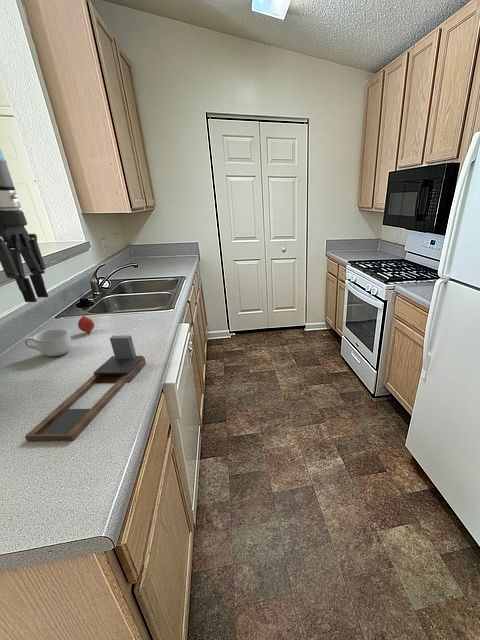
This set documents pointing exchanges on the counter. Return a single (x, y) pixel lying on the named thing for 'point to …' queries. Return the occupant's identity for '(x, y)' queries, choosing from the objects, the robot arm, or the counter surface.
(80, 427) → the long wooden tray frame
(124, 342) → the lid
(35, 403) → the counter surface
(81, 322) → the onion
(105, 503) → the counter surface
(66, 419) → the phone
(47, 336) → the teacup
